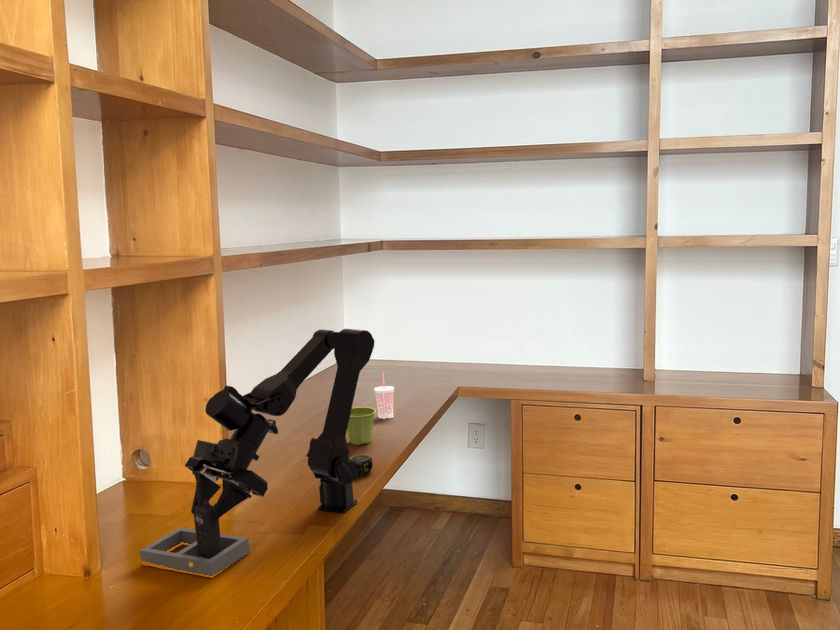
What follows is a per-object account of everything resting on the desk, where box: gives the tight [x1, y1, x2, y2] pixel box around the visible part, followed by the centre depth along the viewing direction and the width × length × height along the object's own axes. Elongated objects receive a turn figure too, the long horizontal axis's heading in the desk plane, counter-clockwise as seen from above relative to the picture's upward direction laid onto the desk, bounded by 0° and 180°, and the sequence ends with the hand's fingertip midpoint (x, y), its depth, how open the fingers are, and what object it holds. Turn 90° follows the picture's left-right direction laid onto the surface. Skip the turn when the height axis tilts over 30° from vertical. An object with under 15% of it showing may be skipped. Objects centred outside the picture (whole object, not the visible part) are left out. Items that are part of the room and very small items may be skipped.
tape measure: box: [348, 453, 373, 476], centre depth 191 cm, size 7×7×4 cm
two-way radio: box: [193, 479, 221, 559], centre depth 145 cm, size 6×4×15 cm
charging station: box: [139, 527, 250, 576], centre depth 147 cm, size 17×11×3 cm
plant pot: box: [346, 406, 377, 446], centre depth 216 cm, size 9×9×9 cm
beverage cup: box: [373, 371, 395, 420], centre depth 240 cm, size 6×6×14 cm
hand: (202, 517), depth 144 cm, fingers closed on two-way radio, 5 cm apart
